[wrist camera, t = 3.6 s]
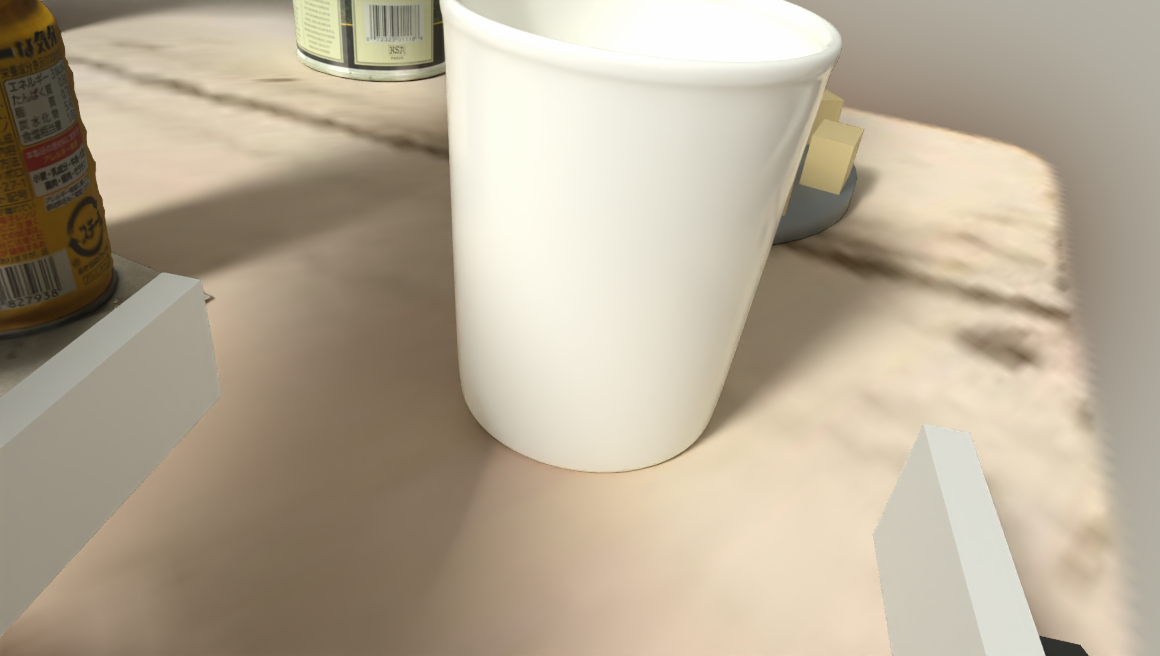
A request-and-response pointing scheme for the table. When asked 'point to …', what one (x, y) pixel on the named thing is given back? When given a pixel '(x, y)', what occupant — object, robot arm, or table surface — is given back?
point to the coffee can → (371, 38)
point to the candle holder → (617, 208)
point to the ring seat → (822, 175)
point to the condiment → (48, 203)
